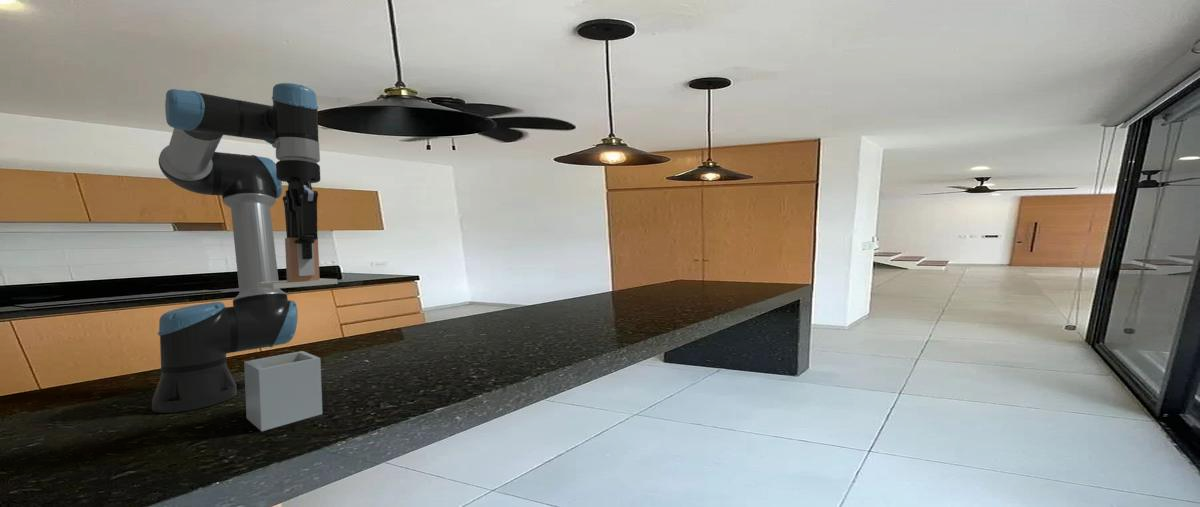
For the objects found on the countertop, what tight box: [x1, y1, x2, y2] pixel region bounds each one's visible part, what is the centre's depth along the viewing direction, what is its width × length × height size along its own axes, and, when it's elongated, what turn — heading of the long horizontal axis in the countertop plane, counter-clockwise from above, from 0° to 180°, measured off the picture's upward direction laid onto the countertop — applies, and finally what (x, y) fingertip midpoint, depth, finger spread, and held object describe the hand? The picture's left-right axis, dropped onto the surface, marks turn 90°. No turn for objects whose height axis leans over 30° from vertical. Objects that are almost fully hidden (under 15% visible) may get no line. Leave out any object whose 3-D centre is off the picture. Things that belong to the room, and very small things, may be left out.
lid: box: [257, 237, 339, 289], centre depth 93 cm, size 11×11×10 cm
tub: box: [243, 350, 323, 432], centre depth 96 cm, size 11×11×12 cm
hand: (303, 275), depth 91 cm, fingers closed on lid, 3 cm apart
